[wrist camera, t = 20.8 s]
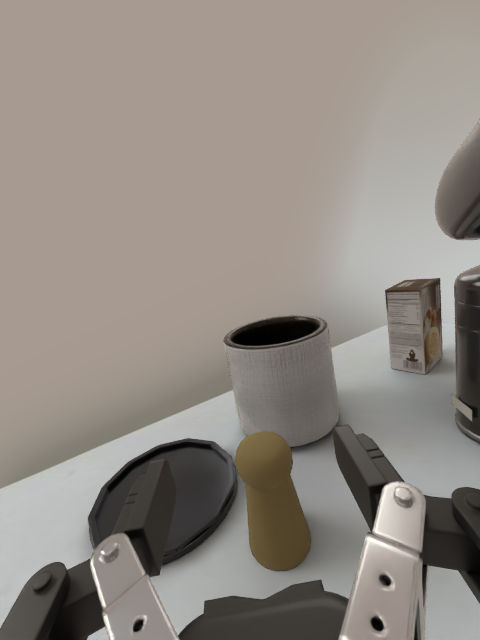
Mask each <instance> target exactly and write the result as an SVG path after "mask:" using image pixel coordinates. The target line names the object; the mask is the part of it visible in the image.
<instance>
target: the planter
mask: <svg viewBox="0 0 480 640" xmlns="http://www.w3.org/2000/svg"><path fill="white" fill-rule="evenodd" d="M223 343H224V347H225V352H226V357H227V362H228V366H229V371H230V376H231V382H232V386H233V392H234V397H235V402H236V407H237V412H238V417H239V421H240V424H241V427H242V429H243V431H244V432H245V434H246V435H247V436H249V435H251V434H254V433H257V432H263V431H268V432H274V433H277V434H279V435H280V436H281V437H283V438H284V439H285V440H286V442H287V443H288V445H289V447H295V446H301V445H305V444H308V443H311V442H314V441H316V440H318V439H320V438H322V437H323V436H325V435H326V434H328V433H329V432H330V431H331V430H332V428H333V427H335V425H336V424H337V422H338V419H339V402H338V395H337V387H336V380H335V374H334V367H333V360H332V352H331V345H330V337H329V329H328V324H327V322H326V321H325V320H323V319H321V318H318V317H313V316H306V315H290V316H279V317H272V318H267V319H262V320H258V321H254V322H251V323H248V324H245V325H242V326H240V327H238V328H236V329H234V330H232V331H231V332H229V333H228V334H227V335H226V336H225V337H224V339H223Z"/></svg>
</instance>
